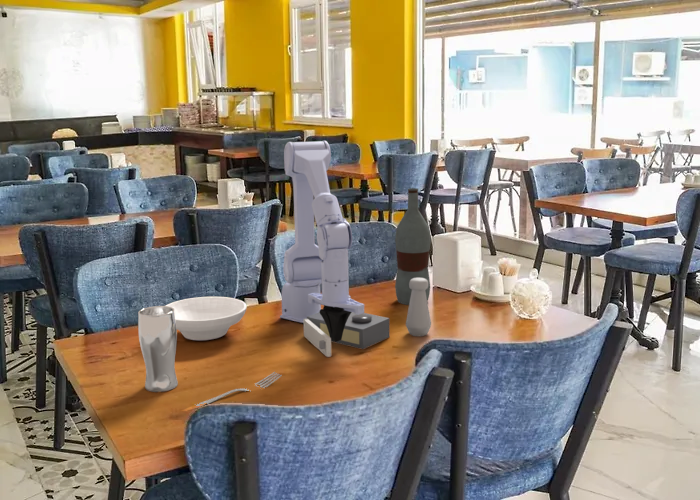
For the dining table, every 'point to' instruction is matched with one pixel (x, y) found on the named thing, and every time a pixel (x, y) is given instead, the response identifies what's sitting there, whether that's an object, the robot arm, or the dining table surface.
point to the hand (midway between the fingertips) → (336, 340)
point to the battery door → (317, 337)
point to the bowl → (207, 316)
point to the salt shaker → (418, 308)
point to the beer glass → (158, 347)
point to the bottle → (411, 249)
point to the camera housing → (358, 329)
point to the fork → (244, 388)
